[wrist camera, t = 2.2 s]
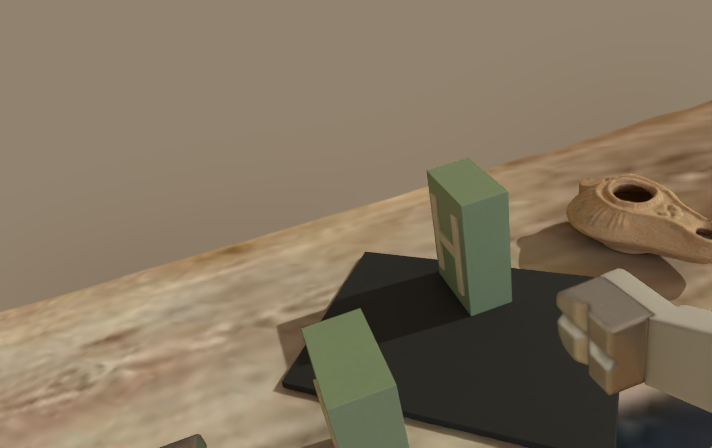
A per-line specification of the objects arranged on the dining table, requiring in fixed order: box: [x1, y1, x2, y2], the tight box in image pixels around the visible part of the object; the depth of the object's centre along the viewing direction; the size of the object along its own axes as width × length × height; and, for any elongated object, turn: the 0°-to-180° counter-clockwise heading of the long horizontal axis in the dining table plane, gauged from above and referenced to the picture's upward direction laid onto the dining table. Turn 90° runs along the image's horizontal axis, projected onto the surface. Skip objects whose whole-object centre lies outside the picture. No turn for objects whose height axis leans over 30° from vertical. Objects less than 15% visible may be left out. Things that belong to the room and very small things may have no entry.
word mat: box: [282, 252, 619, 448], centre depth 41 cm, size 22×16×1 cm
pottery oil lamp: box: [566, 174, 712, 264], centre depth 44 cm, size 9×12×7 cm
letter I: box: [301, 308, 410, 448], centre depth 31 cm, size 4×6×10 cm, turn 17°
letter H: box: [427, 158, 512, 316], centre depth 42 cm, size 4×6×10 cm, turn 17°
